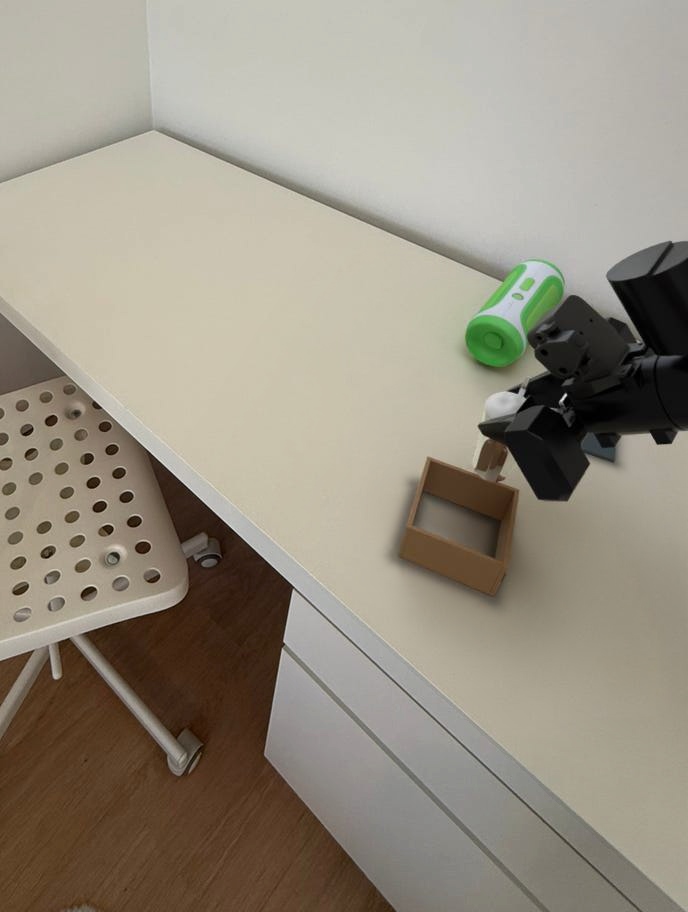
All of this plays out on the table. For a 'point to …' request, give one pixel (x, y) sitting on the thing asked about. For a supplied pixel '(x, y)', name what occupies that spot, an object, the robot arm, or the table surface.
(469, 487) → the carton
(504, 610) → the table surface
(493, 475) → the milkshake
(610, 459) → the mat
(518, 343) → the speaker
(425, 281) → the table surface
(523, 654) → the table surface
